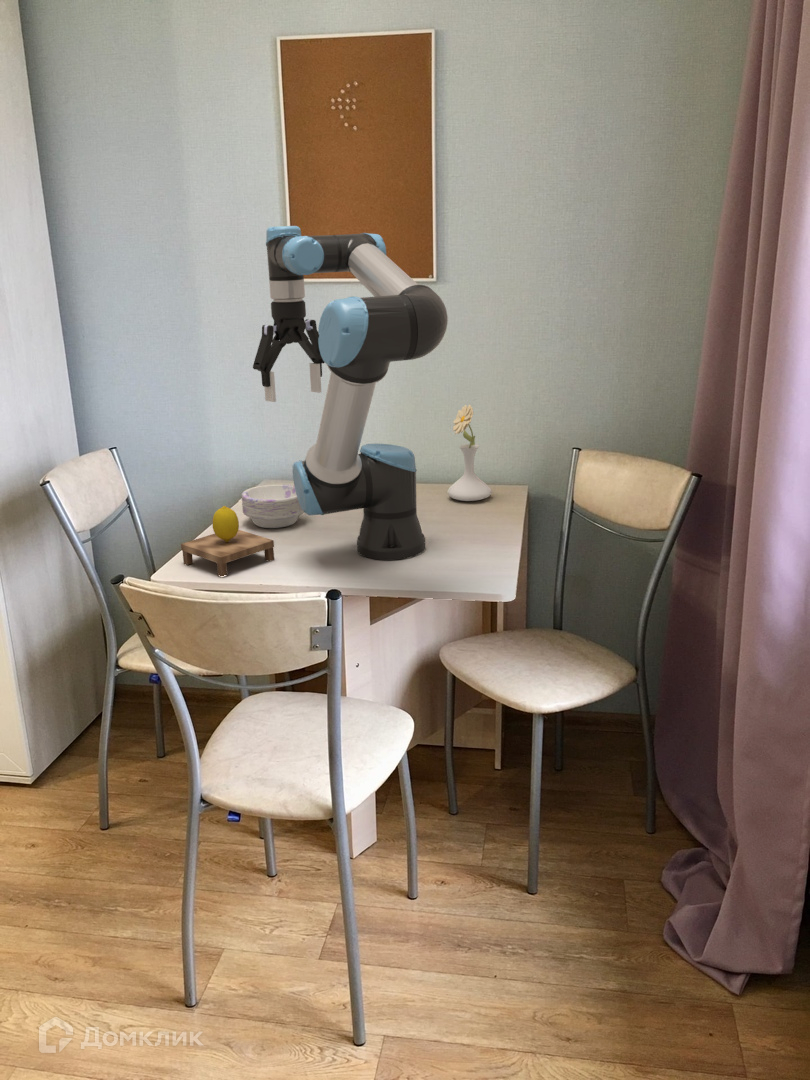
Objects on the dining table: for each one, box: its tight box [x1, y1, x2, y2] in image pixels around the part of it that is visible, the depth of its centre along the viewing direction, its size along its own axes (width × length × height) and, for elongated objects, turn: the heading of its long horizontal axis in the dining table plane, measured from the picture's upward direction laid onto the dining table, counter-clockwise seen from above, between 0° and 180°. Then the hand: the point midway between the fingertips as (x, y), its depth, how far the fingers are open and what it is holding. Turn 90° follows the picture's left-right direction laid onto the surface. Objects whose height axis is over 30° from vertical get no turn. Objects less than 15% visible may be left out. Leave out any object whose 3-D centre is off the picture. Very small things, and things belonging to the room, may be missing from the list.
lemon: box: [212, 505, 240, 542], centre depth 209 cm, size 6×6×8 cm
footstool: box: [180, 529, 275, 576], centre depth 211 cm, size 14×4×14 cm
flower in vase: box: [447, 403, 493, 502], centre depth 248 cm, size 13×11×25 cm
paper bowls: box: [241, 484, 305, 529], centre depth 236 cm, size 15×15×8 cm
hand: (294, 396), depth 221 cm, fingers open, 13 cm apart
